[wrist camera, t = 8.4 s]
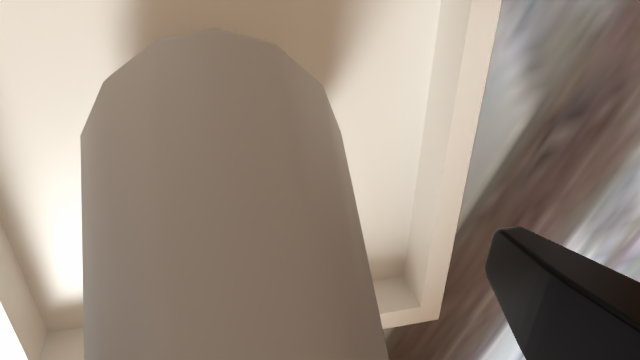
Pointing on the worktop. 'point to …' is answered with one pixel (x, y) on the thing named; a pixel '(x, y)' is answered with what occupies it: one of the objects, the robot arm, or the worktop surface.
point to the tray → (311, 54)
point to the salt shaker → (221, 211)
